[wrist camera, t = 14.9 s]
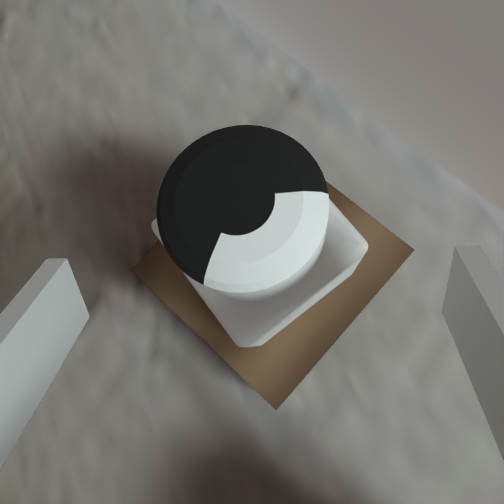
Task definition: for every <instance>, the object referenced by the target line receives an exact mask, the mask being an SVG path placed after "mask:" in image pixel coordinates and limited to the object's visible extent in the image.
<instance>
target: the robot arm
mask: <svg viewBox="0 0 504 504" xmlns="http://www.w3.org/2000/svg"><path fill="white" fill-rule="evenodd" d="M442 313H443V315H444V317H445V320H446V322H447V325H448V327H449V330H450V332H451V334H452V337H453V339H454V342H455V344H456V346H457V349H458V351H459V354H460V356H461V358H462V361H463V363H464V366H465V368H466V371H467V373H468V375H469V378H470V380H471V383H472V385H473V387H474V390H475V392H476V395H477V397H478V399H479V402H480V404H481V407H482V409H483V411H484V414H485V416H486V419H487V421H488V424H489V426H490V428H491V431H492V433H493V436H494V438H495V440H496V443H497V445H498V448H499V450H500V452H501V455H502V457H503V460H504V282H503V280H502V279H501V277H500V276H499V274H498V272H497V271H496V269H495V268H494V266H493V265H492V263H491V262H490V260H489V258H488V257H487V255H486V254H485V252H484V251H483V249H482V248H481V246H455V248H454V253H453V259H452V264H451V269H450V274H449V279H448V285H447V290H446V295H445V300H444V306H443V311H442ZM89 317H90V316H89V313H88V311H87V308H86V306H85V303H84V301H83V298H82V295H81V293H80V290H79V288H78V285H77V283H76V280H75V278H74V275H73V272H72V270H71V267H70V265H69V262H68V260H67V258H54V259H46V260H45V261H44V263H43V264H42V265H41V266H40V267H39V269H38V270H37V271H36V272H35V273H34V274H33V276H32V277H31V278H30V279H29V280H28V282H27V283H26V284H25V285H24V286H23V288H22V289H21V290H20V291H19V292H18V294H17V295H16V296H15V297H14V298H13V300H12V301H11V302H10V303H9V304H8V306H7V307H6V308H5V309H4V310H3V312H2V313H1V314H0V470H1V469H2V467H3V465H4V464H5V462H6V460H7V458H8V457H9V455H10V453H11V451H12V450H13V448H14V446H15V445H16V443H17V441H18V439H19V438H20V436H21V434H22V433H23V431H24V429H25V427H26V426H27V424H28V422H29V420H30V419H31V417H32V415H33V414H34V412H35V410H36V408H37V407H38V405H39V403H40V402H41V400H42V398H43V396H44V395H45V393H46V391H47V389H48V388H49V386H50V384H51V383H52V381H53V379H54V377H55V376H56V374H57V372H58V370H59V369H60V367H61V365H62V364H63V362H64V360H65V358H66V357H67V355H68V353H69V352H70V350H71V348H72V346H73V345H74V343H75V341H76V339H77V338H78V336H79V334H80V333H81V331H82V329H83V327H84V326H85V324H86V322H87V321H88V319H89Z"/></svg>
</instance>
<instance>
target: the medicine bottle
mask: <svg viewBox="0 0 504 504" xmlns="http://www.w3.org/2000/svg"><path fill="white" fill-rule="evenodd" d="M151 227H152V230H153V232H154V233H155V235H156V236H157V238H158V239H159V240H160V242H161V243H162V244H163V246H164V247H165V249H166V251H167V253H168V255H169V256H170V257H171V259H172V260H173V262H174V263H175V264H176V265H177V266H178V267H179V268H180V269H181V270H182V272H183V273H184V274H185V276H186V277H187V279H188V280H189V281H190V283H191V284H192V285H193V287H194V288H195V289H196V291H197V292H198V294H199V295H200V296H201V298H202V299H203V300H204V302H205V303H206V304H207V306H208V307H209V309H210V310H211V311H212V313H213V314H214V315H215V317H216V318H217V320H218V321H219V322H220V324H221V325H222V326H223V328H224V329H225V330H226V332H227V333H228V335H229V336H230V337H231V339H232V340H233V341H234V343H235V344H236V345H237V346H239V347H254V346H261V345H263V344H264V343H266V342H267V341H268V340H269V339H271V338H272V337H273V336H274V335H276V334H277V333H278V332H279V331H281V330H282V329H283V328H285V327H286V326H287V325H288V324H290V323H291V322H292V321H293V320H295V319H296V318H297V317H299V316H300V315H301V314H302V313H304V312H305V311H306V310H307V309H309V308H310V307H311V306H312V305H314V304H315V303H316V302H318V301H319V300H320V299H321V298H323V297H324V296H325V295H326V294H328V293H329V292H330V291H332V290H333V289H334V288H335V287H337V286H338V285H339V284H340V283H342V282H343V281H344V280H345V279H347V278H348V277H349V276H351V275H352V273H353V272H354V270H355V269H356V267H357V266H358V264H359V262H360V261H361V259H362V258H363V256H364V255H365V253H366V252H367V250H368V243H367V241H366V240H365V239H364V238H363V237H362V235H361V234H360V233H359V232H358V231H357V230H356V229H355V227H354V226H353V225H352V224H351V223H350V222H349V221H348V219H347V218H346V217H345V216H344V215H343V214H342V213H341V211H340V210H339V209H338V208H337V207H336V206H335V205H334V204H333V202H332V201H331V200H330V199H329V194H328V189H327V185H326V181H325V179H324V176H323V173H322V171H321V169H320V167H319V166H318V164H317V162H316V161H315V159H314V158H313V157H312V155H311V154H310V153H309V152H308V151H307V150H306V149H305V148H304V147H303V146H302V145H301V144H300V143H298V142H297V141H296V140H294V139H293V138H291V137H289V136H288V135H286V134H284V133H282V132H279V131H277V130H274V129H271V128H267V127H262V126H254V125H239V126H231V127H226V128H222V129H219V130H216V131H213V132H211V133H209V134H207V135H205V136H203V137H201V138H199V139H198V140H196V141H195V142H193V143H192V144H191V145H189V146H188V147H187V148H186V149H185V150H184V151H183V152H182V153H181V154H180V155H179V156H178V157H177V158H176V159H175V161H174V162H173V164H172V165H171V166H170V168H169V170H168V171H167V173H166V175H165V177H164V179H163V182H162V185H161V187H160V191H159V195H158V200H157V218H156V219H155V220H154V221H153V222H152V224H151Z"/></svg>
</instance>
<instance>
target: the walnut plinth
mask: <svg viewBox="0 0 504 504" xmlns="http://www.w3.org/2000/svg"><path fill="white" fill-rule="evenodd" d="M326 185H327V189H328V194H329V199H330V200H331V201H332V202H333V204H334V205H335V206H336V207H337V208H338V209H339V210H340V211H341V213H342V214H343V215H344V216H345V217H346V218H347V219H348V221H349V222H350V223H351V224H352V225H353V226H354V227H355V229H356V230H357V231H358V232H359V233H360V234H361V235H362V237H363V238H364V239H365V240H366V241H367V243H368V250H367V252H366V253H365V255H364V256H363V258H362V259H361V261H360V262H359V264H358V266H357V267H356V269H355V270H354V272H353V273H352V275H351V276H349V277H348V278H347V279H345V280H344V281H343V282H342V283H340V284H339V285H338V286H337V287H335V288H334V289H333V290H332V291H330V292H329V293H328V294H326V295H325V296H324V297H323V298H321V299H320V300H319V301H318V302H316V303H315V304H314V305H312V306H311V307H310V308H309V309H307V310H306V311H305V312H304V313H302V314H301V315H300V316H299V317H297V318H296V319H295V320H293V321H292V322H291V323H290V324H288V325H287V326H286V327H285V328H283V329H282V330H281V331H279V332H278V333H277V334H276V335H274V336H273V337H272V338H271V339H269V340H268V341H267V342H266V343H264V344H263V345H261V346H254V347H239V346H237V345H236V344H235V343H234V341H233V340H232V339H231V337H230V336H229V335H228V333H227V332H226V330H225V329H224V328H223V326H222V325H221V324H220V322H219V321H218V320H217V318H216V317H215V315H214V314H213V313H212V311H211V310H210V309H209V307H208V306H207V304H206V303H205V302H204V300H203V299H202V298H201V296H200V295H199V294H198V292H197V291H196V289H195V288H194V287H193V285H192V284H191V283H190V281H189V280H188V279H187V277H186V276H185V274H184V273H183V272H182V270H181V269H180V268H179V267H178V266H177V265H176V264H175V263H174V262H173V260H172V259H171V257H170V256H169V255H168V253H167V251H166V249H165V247H164V246H163V244H162V243H161V242H160V240H158V241H157V243H156V244H155V245H154V246H153V247H152V248H151V249H150V250H149V251H148V252H147V253H146V255H145V256H144V257H143V258H142V259H141V260H140V261H139V262H138V263H137V264H136V265H135V267H134V268H133V269H132V270H131V271H132V272H133V273H134V274H135V275H136V276H137V277H138V278H139V279H140V280H141V281H142V282H143V283H144V284H145V285H146V286H147V287H149V288H150V289H151V290H152V291H153V292H154V293H155V294H156V295H157V296H158V297H159V298H160V299H161V300H162V301H163V302H164V303H165V304H166V305H167V306H168V307H169V308H170V309H171V310H172V311H173V312H175V313H176V314H177V315H178V316H179V317H180V318H181V319H182V320H183V321H184V322H185V323H186V324H187V325H188V326H189V327H190V328H191V329H192V330H193V331H194V332H195V333H196V334H197V335H198V336H199V337H201V338H202V339H203V340H204V341H205V342H206V343H207V344H208V345H209V346H210V347H211V348H212V349H213V350H214V351H215V352H216V353H217V354H218V355H219V356H220V357H221V358H222V359H223V360H224V361H226V362H227V363H228V364H229V365H230V366H231V367H232V368H233V369H234V370H235V371H236V372H237V373H238V374H239V375H240V376H241V377H242V378H243V379H244V380H245V381H246V382H247V383H248V384H249V385H250V386H252V387H253V388H254V389H255V390H256V391H257V392H258V393H259V394H260V395H261V396H262V397H263V398H264V399H265V400H266V401H267V402H268V403H269V404H270V405H271V406H272V407H273V408H274V409H275V410H277V409H278V408H279V406H280V405H281V404H282V403H283V402H284V401H285V400H286V398H287V397H288V396H289V395H290V394H291V393H292V391H293V390H294V389H295V388H296V387H297V386H298V384H299V383H300V382H301V381H302V380H303V379H304V377H305V376H306V375H307V374H308V373H309V372H310V370H311V369H312V368H313V367H314V366H315V365H316V364H317V362H318V361H319V360H320V359H321V358H322V357H323V355H324V354H325V353H326V352H327V351H328V350H329V348H330V347H331V346H332V345H333V344H334V343H335V341H336V340H337V339H338V338H339V337H340V336H341V334H342V333H343V332H344V331H345V330H346V329H347V328H348V326H349V325H350V324H351V323H352V322H353V321H354V319H355V318H356V317H357V316H358V315H359V314H360V312H361V311H362V310H363V309H364V308H365V307H366V305H367V304H368V303H369V302H370V301H371V300H372V298H373V297H374V296H375V295H376V294H377V293H378V292H379V290H380V289H381V288H382V287H383V286H384V285H385V283H386V282H387V281H388V280H389V279H390V278H391V276H392V275H393V274H394V273H395V272H396V271H397V269H398V268H399V267H400V266H401V265H402V264H403V262H404V261H405V260H406V259H407V258H408V257H409V256H410V254H411V253H412V252H413V251H414V249H413V248H411V247H410V246H409V245H408V244H406V243H405V242H404V241H402V240H401V239H400V238H399V237H397V236H396V235H395V234H393V233H392V232H391V231H390V230H388V229H387V228H386V227H384V226H383V225H382V224H381V223H379V222H378V221H377V220H375V219H374V218H373V217H372V216H370V215H369V214H368V213H366V212H365V211H364V210H363V209H361V208H360V207H359V206H357V205H356V204H355V203H354V202H352V201H351V200H350V199H348V198H347V197H346V196H345V195H343V194H342V193H341V192H339V191H338V190H337V189H336V188H334V187H333V186H332V185H330V184H329V183H328V182H326Z"/></svg>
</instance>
